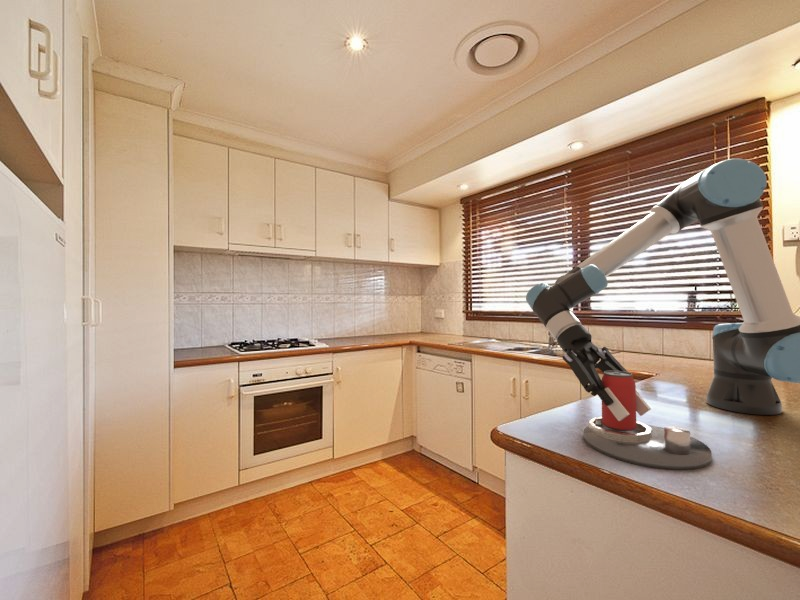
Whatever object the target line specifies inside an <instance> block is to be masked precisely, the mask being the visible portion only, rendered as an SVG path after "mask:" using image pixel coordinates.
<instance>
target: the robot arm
mask: <svg viewBox="0 0 800 600" xmlns="http://www.w3.org/2000/svg"><path fill="white" fill-rule="evenodd" d="M767 181H768V180H767V175H766V173H765V171H764V170H763V169H762V168H761V166H759V164H756V162H753V161H751V160H747V159H745V158H744V159H743V158H729V159H725V160H721V161H719V162H717V163H714V164H712V165H710V166H708V167H706V168H705V169H703V170H702V171H699V172H698V173H697V174H695V175H693V176H691V177H690V178H687V179H686V180H685V181H683V182H681V184H679V185H678V186H677V187H676V188H675V189H674V190H672V191H671V192H670V193H669V194H667V196H665V197H664V198H663V199H662V200H661V201H659V202H658V203H657V204H655V205H654V206H653V207H651V208H650V212H649V214H647V215H646V216H645V217H644V218H642V219H641V220H639V221H638V222H636V223H635V224H634V225H632V226H631V227H629V228H628V229H627V230H626V231H624V232H622V233H621V234H619V235H618V236H617V237H616V238H614V239H613V240H611V241H610V242H608V243H607V244H606V245H604V246H603V247H601V248H600V249H599V250H598V251H596V252H595V253H593V254H592V255H590V256H589V257H588V258H586V259H585V260H584V261H582V262H581V263H579V264H578V265H576V266H575V267H574V268H573V269H571V270H569V271H568V272H567V273H565V274H563V275H561V276H560V277H558V278H557V279H556V280H555V282H554V284H553V285H552V286H551V285H550V284H548V283H546V282H541V283H540V284H538V283H537V284H535V285H533V286H532V287H531V288H530V289H529V290H528V291H527V293H526V297H525V301H526V302H527V304H528V306H529V307H530V309H531V310H532V311H533V314H535V316H536V317H537V318H538V320H539V321H540V322H541V323H542V324H543V326H544V327H545V328H546V329H547V330H548V332H549V333H550V335H551V336H552V337H553V339H554V340H555V341H556V343H557V344H558V345H559V346H558V347H560V348H561V350H562V351H563V352H564V353H565V354H564V355H563V356H561V358H562V359H563V361H564V362H565V363H566V364H567V365H568V366H569V368H570V369H571V370H572V372H573V374H574V376H575V377H576V378H577V380H578V381H579V382H580V384H581V386H582V387H583V389H584V390H585V392H587V393H588V394H589V393H590V395H591V396H592V397H595V396H598V397H599V399H600V400H601V402H602V401H603V403H604V404H605V405H606V406H607V407H608V408H609V409H610V411H611V412H612V413H613V414H614V416H615V417H616V418H617V420H618V421H621V420H623V419H624V418H625V417H627V416H628V415H629V413H628V411H627V410H626V409H625V408H624V406H623V405H622V404H621V403H620V401H619V400H618V399H617V398H616V396H615V395H614V394H613V392H612V391H611V390H610V389H609V388H605V389H604V385H603V383H602V381H601V380H602V378H601V377H600V375H599V372H598V370H600V371H601V372H602V373H603V374H604V371H625V372H628V370H627V369H626V368H625V367H624V366H623V365H622V364H621V363H620V362H619V361H618V359H616V358H615V357H614V356H613V354H612V353H611V352H610V350H609V348H608V347H606V346H603V347H602V348H599V347H598V346H597V345H595V344H594V343H593V342H592V338H593V337H592V334H591V333H590V332H589V331H588V329H587V328H586V327H585V326H584V325H583V324H582V322H581V321H580V320H579V318H577V316H576V315H575V314H574V313H573V312H572V311H571V310H570V309H572V308H575V306H577V305H579V304H581V303H582V302H584V301H586V300H587V299H590V298H591V297H593V296H595V295H596V294H599V293H600V292H602V291H603V290H605V289H606V288H607V286H608V285H609V283H608V279H607V277H609V276H610V275H611V274H613V273H614V272H616V271H617V270H619V269H620V268H621V267H623V266H624V265H626V264H627V263H629V262H631V260H633V259H634V258H636V257H637V256H639V255H640V254H642V253H643V252H645V251H646V250H648V249H649V248H650V247H652V246H653V245H655V244H656V243H658V242H659V241H660V240H662V239H663V238H665V237H666V236H667V235H670V234H673V235H674V234H677V233H679V232H680V231H681V230H683V229H684V228H686V227H688V226H690V225H693V224H695V223H698V222H699V225H700V227H701V228H702V229H705V230H708V231H710V232H711V234H712V235H711V236H712V238H713V240H714V243H715V246H716V249H717V251H718V254H719V257H720V260H721V262H722V266H723V269H724V270H725V273H726V277H727V278H728V279H727V280H728V281H729V285H730V287H731V289H732V292H733V295H734V297H735V300H736V303H737V305H738V309H739V311H740V314H741V317H742V319H743V322H735V323H734V322H733V323H732V322H731V323H729V322H728V323H718V324H715V325H714V326H713V328H712V329H713V331H712V337H711V338H712V347H713V348H712V351H713V354H712V355H713V378H712V381H710V385H709V387H708V390H707V393H706V397H705V399H706V401H705V402H706V403H707V404H708V405H710V406H712V407H715V408H718V409H721V410H726V411H729V412H730V411H731V412H736V413H741V414H749V415H750V414H751V415H759V416H760V415H761V416H763V415H764V416H775V415H780V414H782V413H783V403H782V401H781V399H780V397H779V394H778V392H777V390H776V388H775V386H774V383H773V379H774V380H775V381H778V382H779V381H780V382H785V383H786V382H787V383H792V384H800V316H799V315H797V314H794V312H793V309H792V307H791V303H790V301H789V299H788V295H787V293H786V291H785V288H784V285H783V283H782V280H781V278H780V275H779V273H778V272H779V271H778V269H777V267H776V264H775V261H774V259H773V256H772V254H771V251H770V249H769V248H770V247H769V246H768V243H767V240H766V237H765V235H764V233H763V230H762V227H761V224H760V222H759V219H758V216H759V215H760V213H761V211H762V210H763V208H764V206H763V204H762V201H761V196H763V194H764V190H765V189H766V188H767V185H768V184H767V183H768V182H767ZM597 369H598V370H597ZM633 379H634V377H633ZM634 380H635V379H634ZM651 410H652V408H651V407H650V405H649V404H648V403H647V402H646V401H645V400H644V398H643V397H642V396H641V395H640V394H639V392H638V391H637V390H636V414H638V415H639V416H641V417H642V416H643V415H645V414H646V413H648V412H649V411H651Z"/></svg>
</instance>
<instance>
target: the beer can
mask: <svg viewBox="0 0 800 600" xmlns="http://www.w3.org/2000/svg"><path fill="white" fill-rule="evenodd" d="M633 378H634V376H633V373H632V372H629V371H627V372H625V371H604V373H603V375H602V377H601V381H602V383H603V385H604V389H605V388H609V389H610V390H611V391H612V392H613V394H614V395H615V396H616V398H617V399H618V400H619V401H620V403H621V404H622V405H623V406H624V408H625V409H626V410H627V411H628V413H629V415H628V416H627V417H625V418H624V419H623V420H621V421H618V420H617V418H616V417H615V416H614V414H613V413H612V412H611V411H610V409H609V408H608V407H607V406H606V405H605V404H604V403H603V401H602V400H601V417H602V423H603V424H604V425H605V426H606V427H608V428H610V429H614V430H619V431H631V430H634V429H635V428H636V421H637V411H636V391H637V389H636V388H637V387H636V382H635V379H633Z"/></svg>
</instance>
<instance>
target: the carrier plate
mask: <svg viewBox="0 0 800 600" xmlns="http://www.w3.org/2000/svg"><path fill="white" fill-rule="evenodd" d="M583 441H585V443H586V444H587V446H589V447H590V448H591V449H593V450H595V451H596V452H599V453H601V454H603V455H605V456H607V457H609V458H613V459H615V460H618V461H620V462H624V463H627V464H628V463H629V464H632V465H635V466H636V465H637V466H639V467H647V468H650V469H651V468H652V469H658V470H671V471H691V470H698V469H702V468H705V467H707V466H709V465H710V464H711V463H712V461H713V455H712V453H713V452H712V450H711V449H710V447H709V446H708V445H707V444H705V443H704V442H702V441H701V440H699V439H697V438H695V437H693V436H691V431H690V430H688V429H686V428H683V427H680V426H679V427H678V426H668V425H667V426H664V427H662V426H661V427H660V426H655V425H652V424H646V423H643V422H640V421H637V420H636V428H635V429H634V430H631V431H619V430H614V429H610V428H608V427H606V426H605V425H604V424H603V423H602V416H598V417H593V418H591V419H590V420H589V421H588V426H586V427H585V428H584V430H583Z"/></svg>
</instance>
